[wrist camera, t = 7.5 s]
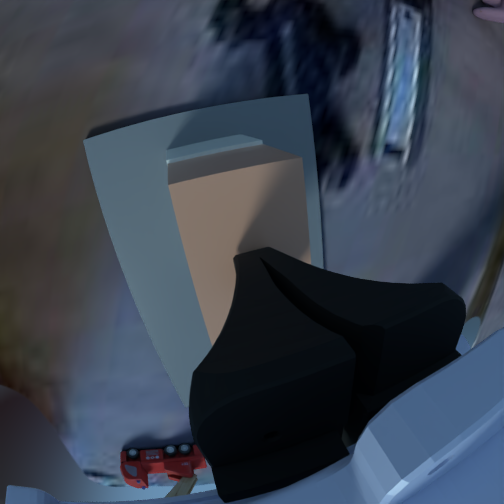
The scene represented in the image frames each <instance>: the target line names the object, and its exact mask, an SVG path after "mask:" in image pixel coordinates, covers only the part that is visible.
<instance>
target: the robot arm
mask: <svg viewBox="0 0 504 504" xmlns="http://www.w3.org/2000/svg"><path fill="white" fill-rule="evenodd" d="M233 262H234V267H235V271H236V283H235V290H234V295H233V300H232V304H231V307H230V310H229V314H228V316H227V319H226V321H225V324H224V326H223V328H222V330H221V332H220V334H219V336H218V338H217V339H216V341H215V343H214V344H213V346H212V348H211V350H210V351H209V352H208V354H207V355H206V357H205V358H204V359H203V360H202V362H201V363H200V364H199V365H198V367H197V368H196V369H195V370H194V371H193V374H192V380H191V386H190V395H189V419H190V425H191V431H192V436H193V439H194V441H195V444H196V446H197V447H198V449H199V450H200V452H201V453H202V455H203V456H204V457H205V459H206V460H207V462H208V463H209V465H210V466H211V468H212V472H213V477H214V481H215V485H216V488H217V489H215V490H210V491H205V492H199V493H194V494H188V495H181V496H174V497H167V498H158V499H149V500H137V501H121V502H68V501H58V500H57V499H56V498H54V497H53V496H52V495H50V494H49V493H47V492H44V491H43V490H40V489H36V488H30V487H20V486H13V485H9V486H7V493H6V502H5V504H504V327H503V328H501V329H499V330H497V331H495V332H494V333H493V334H491V335H490V336H489V337H487V338H486V339H484V340H483V341H482V342H480V343H479V344H478V345H476V346H475V347H473V348H472V349H471V348H470V346H469V343H468V342H467V340H466V339H465V337H464V336H463V335H462V334H461V332H462V329H463V326H464V322H465V317H466V305H465V303H464V300H463V299H462V298H461V297H460V296H459V295H457V294H456V293H455V292H453V291H452V290H451V289H450V288H448V287H447V286H446V285H444V284H443V283H419V284H406V283H389V282H379V281H372V280H365V279H359V278H354V277H350V276H346V275H342V274H338V273H334V272H331V271H327V270H325V269H322V268H319V267H316V266H313V265H311V264H308V263H305V262H303V261H301V260H298V259H296V258H294V257H291V256H289V255H287V254H285V253H283V252H280V251H278V250H276V249H274V248H271V247H265V248H261V249H257V250H253V251H249V252H245V253H241V254H238V255H235V256H234V258H233Z"/></svg>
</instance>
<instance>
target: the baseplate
mask: <svg viewBox="0 0 504 504" xmlns="http://www.w3.org/2000/svg"><path fill="white" fill-rule="evenodd" d="M239 134H242V135H245V136H249V137H253V138H256V139H260V140H262V142H263V144H264V145H267V146H270V147H274V148H277V149H279V150H282V151H285V152H288V153H291V154H294V155H297V156H300V157H302V160H303V170H304V180H305V190H306V201H307V213H308V226H309V239H310V254H311V265H313V266H316V267H319V268H322V269H323V248H322V231H321V215H320V202H319V189H318V177H317V167H316V156H315V147H314V138H313V129H312V120H311V112H310V105H309V97H308V94H299V95H288V96H279V97H270V98H262V99H255V100H248V101H241V102H235V103H229V104H223V105H217V106H212V107H206V108H201V109H196V110H191V111H187V112H182V113H178V114H173V115H169V116H165V117H161V118H157V119H153V120H149V121H145V122H141V123H138V124H134V125H130V126H127V127H123V128H120V129H117V130H113V131H110V132H107V133H104V134H101V135H97V136H94V137H91V138H88V139H85V140H83V142H84V146H85V151H86V155H87V159H88V163H89V167H90V170H91V174H92V178H93V181H94V185H95V189H96V192H97V195H98V199H99V202H100V206H101V209H102V212H103V215H104V218H105V222H106V225H107V228H108V231H109V234H110V237H111V240H112V243H113V245H114V248H115V251H116V254H117V257H118V260H119V262H120V265H121V268H122V270H123V273H124V276H125V278H126V281H127V283H128V286H129V289H130V291H131V294H132V296H133V298H134V301H135V303H136V306H137V308H138V311H139V313H140V315H141V318H142V320H143V322H144V324H145V327H146V329H147V331H148V333H149V336H150V338H151V340H152V342H153V344H154V347H155V349H156V351H157V353H158V355H159V357H160V359H161V361H162V363H163V365H164V367H165V370H166V372H167V374H168V376H169V378H170V379H171V381H172V383H173V385H174V387H175V389H176V391H177V393H178V395H179V397H180V399H181V401H182V402H183V404H184V406H185V407H189V395H190V386H191V380H192V374H193V371H194V370H195V369H196V368H197V367H198V365H199V364H200V363H201V362H202V360H203V359H204V358H205V357H206V355H207V354H208V352H209V351H210V350H211V348H212V344H211V341H210V338H209V335H208V331H207V328H206V325H205V322H204V318H203V315H202V312H201V308H200V305H199V301H198V298H197V295H196V291H195V288H194V284H193V280H192V277H191V273H190V270H189V266H188V262H187V259H186V255H185V251H184V247H183V244H182V240H181V236H180V232H179V228H178V224H177V220H176V216H175V212H174V208H173V204H172V200H171V195H170V191H169V187H168V166H167V162H166V150H169V149H173V148H177V147H181V146H186V145H190V144H194V143H199V142H203V141H208V140H213V139H218V138H223V137H228V136H233V135H239Z"/></svg>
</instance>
